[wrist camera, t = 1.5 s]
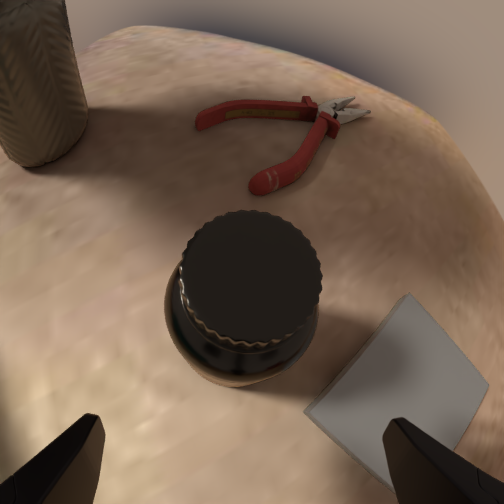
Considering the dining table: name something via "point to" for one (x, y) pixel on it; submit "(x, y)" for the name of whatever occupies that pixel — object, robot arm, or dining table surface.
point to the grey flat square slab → (400, 388)
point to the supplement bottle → (244, 298)
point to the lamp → (38, 82)
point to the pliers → (307, 110)
